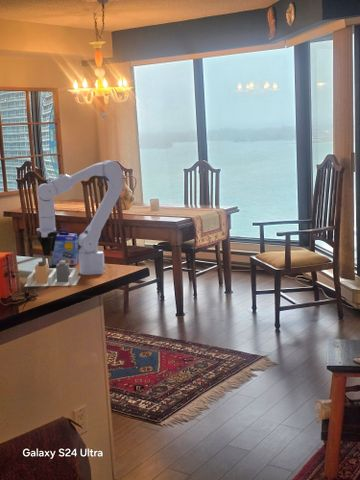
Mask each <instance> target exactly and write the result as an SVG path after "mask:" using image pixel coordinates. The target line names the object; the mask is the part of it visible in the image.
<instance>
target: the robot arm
mask: <svg viewBox="0 0 360 480" xmlns="http://www.w3.org/2000/svg"><path fill="white" fill-rule="evenodd" d="M123 174H124V173H123V170H122V168H121V166H120V164H119V163H118V162H116V161H115V160H114V161H113V160H111V159H105V160H104V161H102V162H97V163H94V164H91V165H90V166H88V167H85V168H84V169H82V170H79V171H77V172H75V173H74V174H72V175H68V174H66V173H64V174H62V173H61V174H59V175H58V177H56V178H54V179H52V180H47V181H46V182H47V183H41V184H39V185H38V187H37V188H36V195H37V197H38V198H37V201H38V205H37V208H38V223H39V227H38V228H36V229H35V230H36V232H40V234H41V235H37V240H38V242H39V243H40V246H41V248H42V249H41V250H42V253H43V255H44V256H51V254H52V251H54V247H55V240H56V237H57V234H59V230H58V231H57V227H56V214H55V211H56V210H55V203H54V197H55V196H59V195H61V194H63V193H66V192H68V191H70V190H72V189H73V187H74V186H75V184H77V183H79V182H82V181H84V180H86V179H89V178H92V177H94V176H95V177H104V179H105V181H106V184H107V186H108V188H107V190H106V192H105V194H104V196H103V198H102V200H101V201H100V204H99V206H98V207H97V209H96V211H95V212H94V215H93V216H92V217H93V218H92V219H91V220H90V223H89V224H88V225H87V227H86V228H85V230H84V231H83V232H82V233H80V234H79V235H78V246H79V249H78V255H79V263H78V265H79V274H80V275H84V276H85V275H87V276H90V275H104V273H105V271H106V266H105V252H104V251H103V250H99V248H98V247H99V240H100V238H101V234H102V231H103V228H104V226H105V225H106V222H107V221H108V218H109V216H110V215H111V214H112V211H113V210H114V207H115V205H116V203H117V201H119V197H120V196H121V194H122V192H123V191H124V190H123V189H124V180H123Z"/></svg>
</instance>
